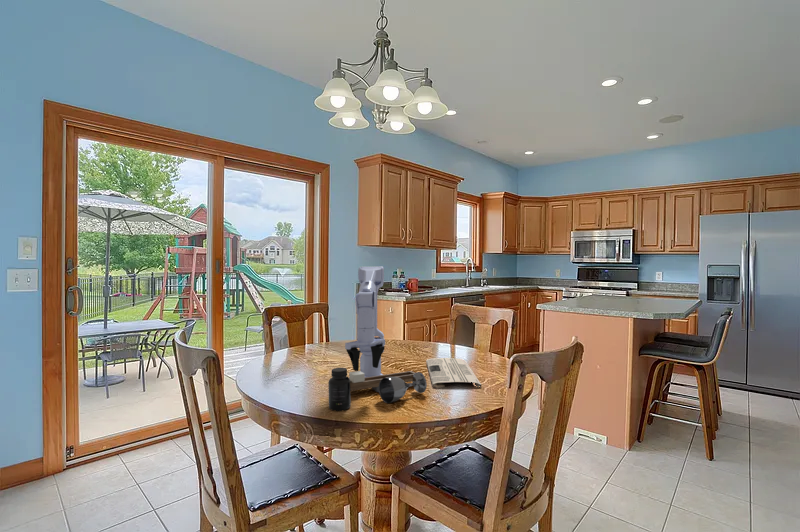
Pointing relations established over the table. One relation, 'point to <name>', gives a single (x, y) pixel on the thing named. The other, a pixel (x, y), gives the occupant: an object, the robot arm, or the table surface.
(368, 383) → the beam
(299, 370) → the table surface
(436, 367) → the newspaper
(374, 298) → the robot arm
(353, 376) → the block
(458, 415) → the table surface
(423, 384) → the wine glass
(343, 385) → the supplement bottle
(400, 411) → the table surface
